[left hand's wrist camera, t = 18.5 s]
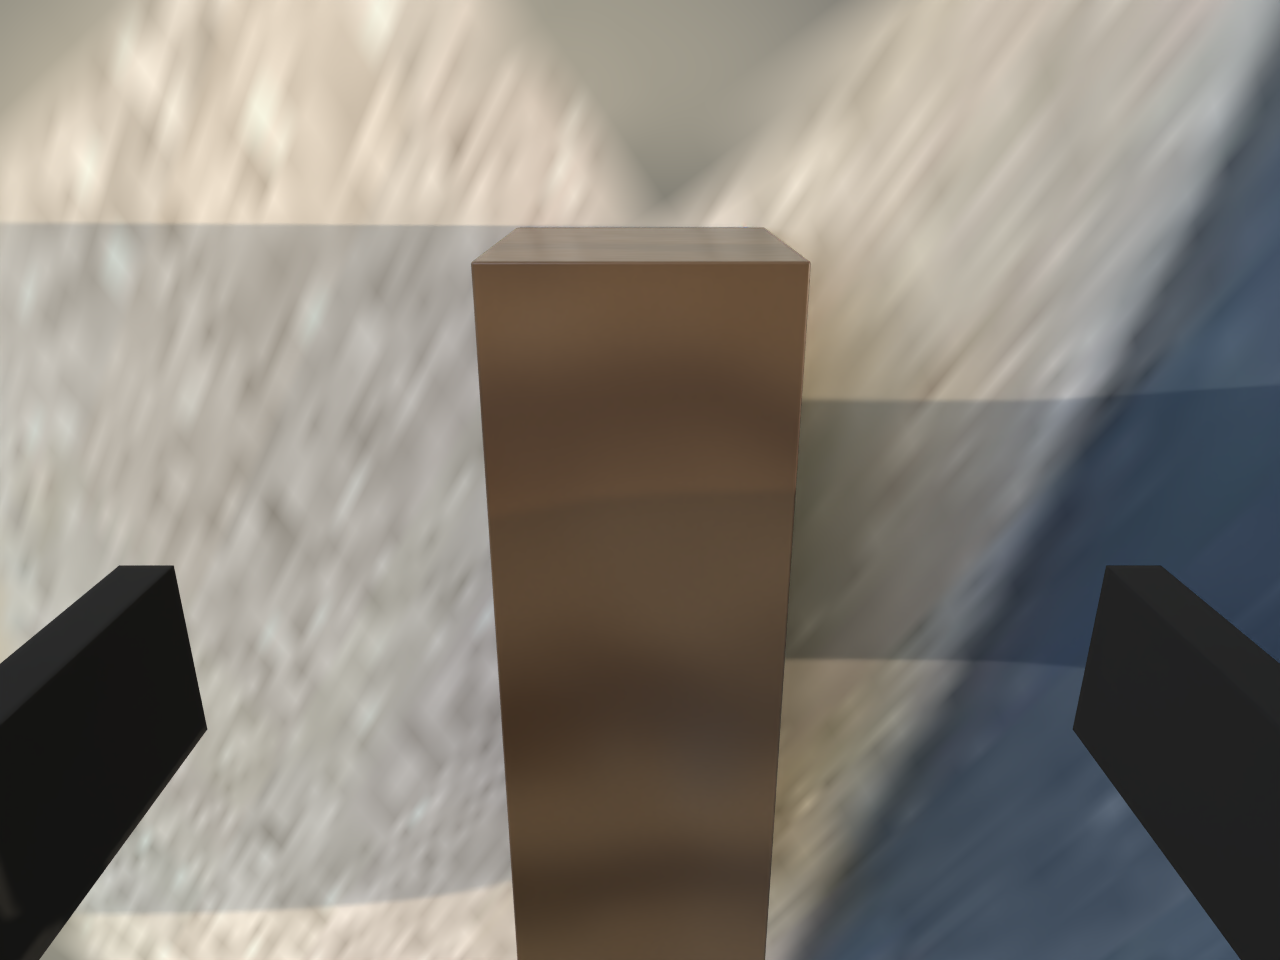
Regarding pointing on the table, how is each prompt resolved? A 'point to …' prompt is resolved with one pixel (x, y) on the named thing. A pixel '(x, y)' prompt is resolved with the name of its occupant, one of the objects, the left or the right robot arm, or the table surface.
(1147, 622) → the left robot arm
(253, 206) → the table surface
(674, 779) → the box
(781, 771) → the table surface
